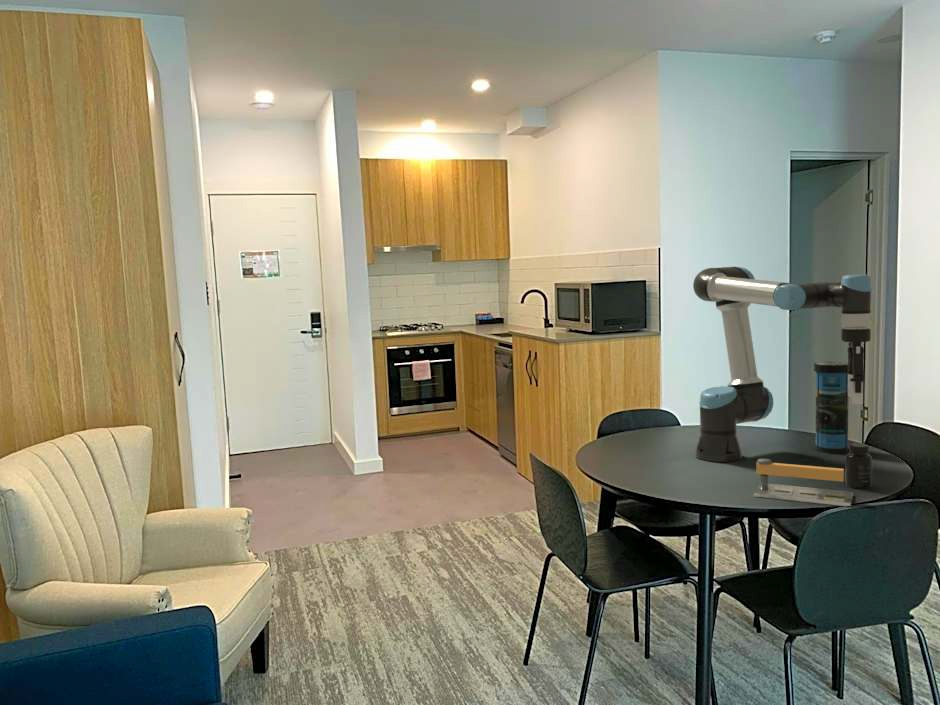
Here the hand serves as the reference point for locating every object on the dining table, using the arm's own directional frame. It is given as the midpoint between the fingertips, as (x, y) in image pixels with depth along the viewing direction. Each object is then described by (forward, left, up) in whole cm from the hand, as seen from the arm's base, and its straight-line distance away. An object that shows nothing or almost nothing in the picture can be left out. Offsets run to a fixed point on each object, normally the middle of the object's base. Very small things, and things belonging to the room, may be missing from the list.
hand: (855, 400), depth 216 cm
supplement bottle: (+1, -8, -24) cm, 25 cm away
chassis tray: (-12, -24, -24) cm, 35 cm away
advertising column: (-9, +35, -24) cm, 43 cm away
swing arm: (-13, -24, -18) cm, 32 cm away
